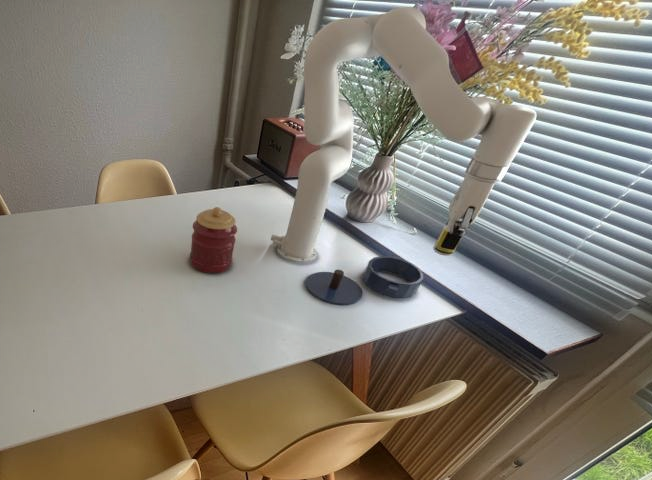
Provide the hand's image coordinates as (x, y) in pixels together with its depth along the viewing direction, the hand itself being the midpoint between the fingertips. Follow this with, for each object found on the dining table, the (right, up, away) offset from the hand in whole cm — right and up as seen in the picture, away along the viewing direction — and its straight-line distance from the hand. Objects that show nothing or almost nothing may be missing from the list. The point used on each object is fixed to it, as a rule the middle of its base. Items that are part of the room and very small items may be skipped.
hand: (447, 242), depth 108 cm
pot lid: (-23, -9, +16) cm, 29 cm away
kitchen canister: (-58, 0, +24) cm, 63 cm away
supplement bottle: (0, -2, +2) cm, 3 cm away
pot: (-5, -7, +20) cm, 22 cm away
